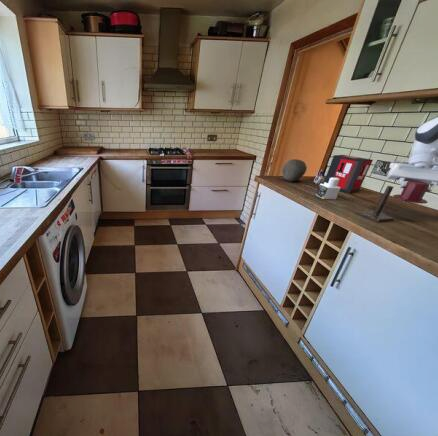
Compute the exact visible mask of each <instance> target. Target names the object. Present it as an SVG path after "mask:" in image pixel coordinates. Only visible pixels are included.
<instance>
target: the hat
mask: <svg viewBox="0 0 438 436" xmlns="http://www.w3.org/2000/svg"><path fill="white" fill-rule="evenodd" d="M406 184H407V185H406V188H405V189H404V188H402V190H401V193H400V194H399V193H398V194H393V195H392V196H393V198H394V199H397V200H399V201H403V202H408V203H414V204H420V205H422V204H427V203H428V200H426V199H425V198H424V196H425V194H426V193H427V192H426V191H427V189H428V187H430V184H428V183H425V182H420V181H406ZM423 198H424V199H423Z"/></svg>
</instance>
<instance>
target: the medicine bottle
mask: <svg viewBox="0 0 438 436" xmlns="http://www.w3.org/2000/svg"><path fill="white" fill-rule="evenodd" d="M325 178H326V179H325ZM325 178H324V180H325V182H324V181H323V183H324V184H323V183H318V187H317V190H316V193H315V196H316V197H319V198H321V199H322V200H337V198H338V194H339V193H340V187H338V186H336V185H337V184H338V182H339V178H337V177H333V176H328V177H326V176H325Z"/></svg>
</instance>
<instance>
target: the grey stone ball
mask: <svg viewBox="0 0 438 436" xmlns="http://www.w3.org/2000/svg"><path fill="white" fill-rule="evenodd" d="M307 168H308V167H307V164H306V162H305V161H303V160H301V159H297V158H296V159H295V158H293V159H289V160H287V161H286V162H285V163H284V165H283V166H282V169H281V175H282V177H283V179H284V180H285V181H287V182H291V183H293V182H296V181H299V180H300V179H301V178H302V177H304V175H305V174H306V172H307Z"/></svg>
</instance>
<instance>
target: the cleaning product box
mask: <svg viewBox="0 0 438 436" xmlns="http://www.w3.org/2000/svg"><path fill="white" fill-rule="evenodd" d="M372 163H373V159H370V158H366V157H365V158H364V157H358V156H354V155H346V154H334V155H333V157H332V158H331V162H330V165H329V167H328V170H327V172H326V175H325V178H324V180H323V183H322V184H324V182H325V179H326V177H328V176H333V177H337V178H339V182H338V184H337V185H336V186H338V187H340V190H339V192H344V193H347V194H353V193H354V194H355V193H359V191H360V190H361V187H362V185H363V184H364V180H365V178H366V176H367V174H368V172H369V169H370V167H371V165H372Z"/></svg>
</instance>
